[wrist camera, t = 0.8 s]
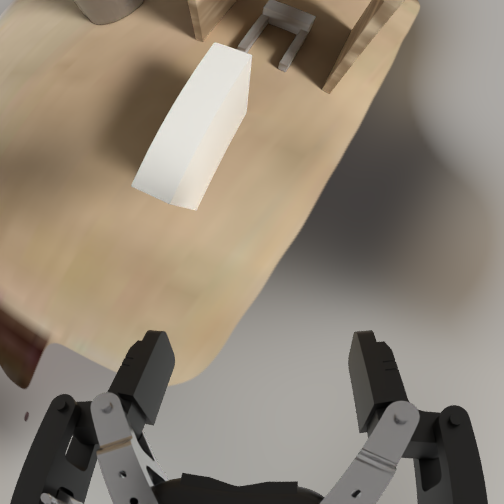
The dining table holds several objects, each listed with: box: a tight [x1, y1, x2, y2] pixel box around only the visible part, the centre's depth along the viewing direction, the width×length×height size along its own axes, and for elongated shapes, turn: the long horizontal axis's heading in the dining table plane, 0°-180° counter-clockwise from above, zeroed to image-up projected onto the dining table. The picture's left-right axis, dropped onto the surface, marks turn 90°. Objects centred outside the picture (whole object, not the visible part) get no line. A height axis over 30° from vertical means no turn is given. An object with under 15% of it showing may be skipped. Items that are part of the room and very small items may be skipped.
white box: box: [131, 42, 252, 210], centre depth 23 cm, size 3×12×12 cm, turn 154°
